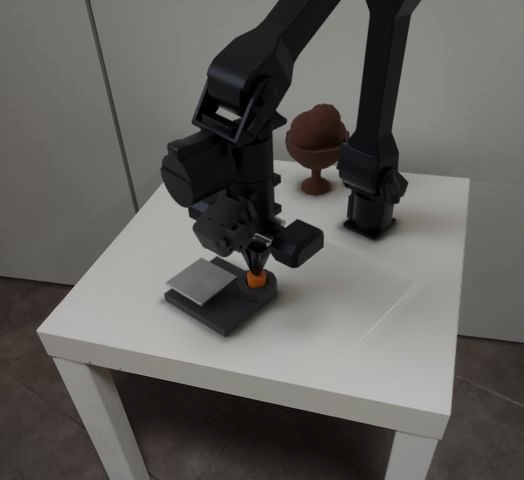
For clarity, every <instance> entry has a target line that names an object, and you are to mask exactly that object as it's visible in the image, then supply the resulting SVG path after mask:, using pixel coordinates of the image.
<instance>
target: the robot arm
mask: <svg viewBox="0 0 524 480" xmlns="http://www.w3.org/2000/svg"><path fill="white" fill-rule="evenodd" d="M341 1H342V0H278V1H277V2H276V3H275V5H273V7H272V9H271V10H270V11H269V12H268V13H267V15H266V16H265V18H264V19H263V20H262V21H261V22H259V24H258V25H257V26H255V27H254V28H252V29H250V30H248V31H246V32H244V33H242V34H240V35H238V36H236V37H234V39H232V40H231V41H230V42H229V43H228V44H227V45H226V46H225V47H224V48H223V49H221V50H220V52H218V53H217V54H216V56H215V57H213V59H212V60H211V62H210V64H209V66H208V68H207V71H206V77H207V78H206V81H205V83H204V86H203V88H202V91H201V94H200V97H199V100H198V102H197V106H196V107H195V110H194V113H193V115H192V118H191V124H192V126H194V127H196V128H198V129H200V130H199V131H197V132H195V133H193V134H190V135H188V136H185V137H183V138H179V139H174V140H172V141H170V142H168V143H167V144H166V150H167V154H165V155H164V156H163V157H162V159H161V167H160V168H159V171H160V176H161V180H162V182H163V185H164V186H165V188H166V191H167V192H168V194H169V195H170V197H171V198H172V200H173V201H174V202H175V203H176V204H177V205H179V206H180V207H181V208H184V209H187V211H188V217H189V218H190V219H192V220H194V221H195V222H194V223H193V225H192V228H191V229H192V231H193V233H194V235H195V237H196V238H197V241H198V242H199V243H200V245H201V246H202V248H203V249H205V250H208V251H210V252H212V253H214V254H216V256H218V257H220V258H227V257H230V256H231V255H232V254H233V253H234V252H238V253H239V254H241V255H242V257H243V259H244V262H245V264H246V265H247V267H248V270H250V271H251V273H252V274H253V275H255V276H258V275H259V274H260V273H261V272H262V270H263V269H265V265H266V264H267V262H268V259H269V258H270V256H272V257H273V259H274V261H276V262H278V263H280V264H282V265H284V266H286V267H288V268H290V269H299V268H301V266H302V265H304V264H305V263H306V262H307V261H309V260H310V259H311V258H312V257H314V256H315V255H316V254H317V253H318V252H320V251H321V250H322V249H323V248H324V247H325V232H324V230H323V229H321V228H319V227H318V226H315V225H313V224H310V223H308V222H306V221H303V220H302V219H300V218H296V219H294V220H293V221H292V222H291V223H289V224H288V225H287V221H286V220H285V219H283V218H281V217H278V215H280V214H281V213H282V212H283V210H282V208H283V207H282V206H283V205H282V204H280V203H278V202H276V194H275V193H276V192H275V188H276V187H277V186H279V185H280V184H281V183H282V174H279V173H276V172H275V167H274V166H275V165H274V162H275V161H274V134H273V133H274V131H275V130H277V129H279V128H281V127H284V126H286V124H288V119H287V117H286V116H284V115H282V114H281V113H280V112H278V110H277V109H278V107H280V104H281V102H282V100H284V98H285V95H286V94H287V93H288V90H289V89H290V87H291V85H292V83H293V75H294V67H295V63H296V61H297V60H298V58H299V56H300V55H301V53H302V52H303V51H304V49H305V48H306V47H307V45H308V44H309V43H310V41H311V40H312V39H313V38H314V36H315V35H316V34H317V32H319V30H320V29H321V27H322V26H323V25H324V23H325V22H326V21H327V19H328V18H329V16H330V15H331V14H332V13H333V12H334V10H335V9H336V8H337V7H338V5H339V4H340V3H341ZM421 1H422V0H365V4H366V6H367V10H368V13H369V17H368V25H367V32H366V33H367V34H366V40H365V41H366V42H365V49H364V57H363V67H362V76H361V84H360V91H359V92H360V93H359V101H358V109H357V117H356V125H355V129H354V131H353V133H352V134H350V138H349V139H348V140H347V142H345V143H341V145H340V146H339V159H338V161H337V164H336V166H335V169H336V170H338V178H339V179H341V182H342V186H343V187H344V188H345V189H349V190H350V194H349V195H348V197H347V209H346V217H347V219H346V220H345V221H343V223H342V227H343V228H345V229H347V230H349V231H352V232H354V233H356V234H358V235H362V236H363V237H366V238H367V239H370V240H372V241H373V240H374V241H377V240H378V239H379V238H381V237H382V236H383V235H384V234H385V233H386V232H387V231H388V230H390V229H391V228H392V227H393V226H395V224H396V223H397V218H395V217H393V216H394V209H395V205H398V204H400V202H401V199H402V198H403V197H404V196H405V194H406V192H407V188H408V186H409V181H408V179H406V178H405V176H404V175H402V174H401V173H400V172H399V159H400V151H399V147H398V145H397V142H396V140H395V137H394V134H393V127H394V119H395V113H396V108H397V101H398V95H399V90H400V83H401V78H402V71H403V66H404V60H405V53H406V49H407V48H406V47H407V42H408V36H409V31H410V25H411V18H412V14H413V13H414V11H415V10H416V9H417V7H418V6H419V5H420V3H421ZM219 109H223V110H224V111H227V112H229V113H231V114H233V115H235V116H237V118H235V119H233V120H232V119H229V118H227V117H225V116H223V115H221V114H219V113H218V110H219Z"/></svg>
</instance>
